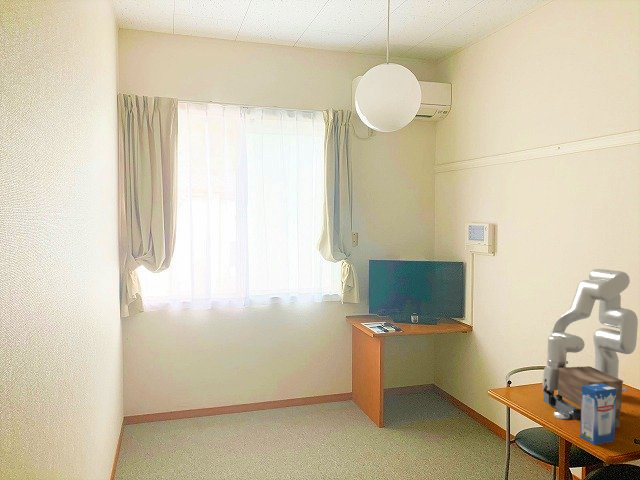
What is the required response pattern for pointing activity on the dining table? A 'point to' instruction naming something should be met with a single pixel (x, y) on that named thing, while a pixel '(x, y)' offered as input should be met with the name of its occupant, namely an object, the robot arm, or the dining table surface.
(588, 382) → the cabinet
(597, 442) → the milk carton
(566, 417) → the steel token
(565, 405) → the gray rectangular bar
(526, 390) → the dining table surface
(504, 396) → the dining table surface
